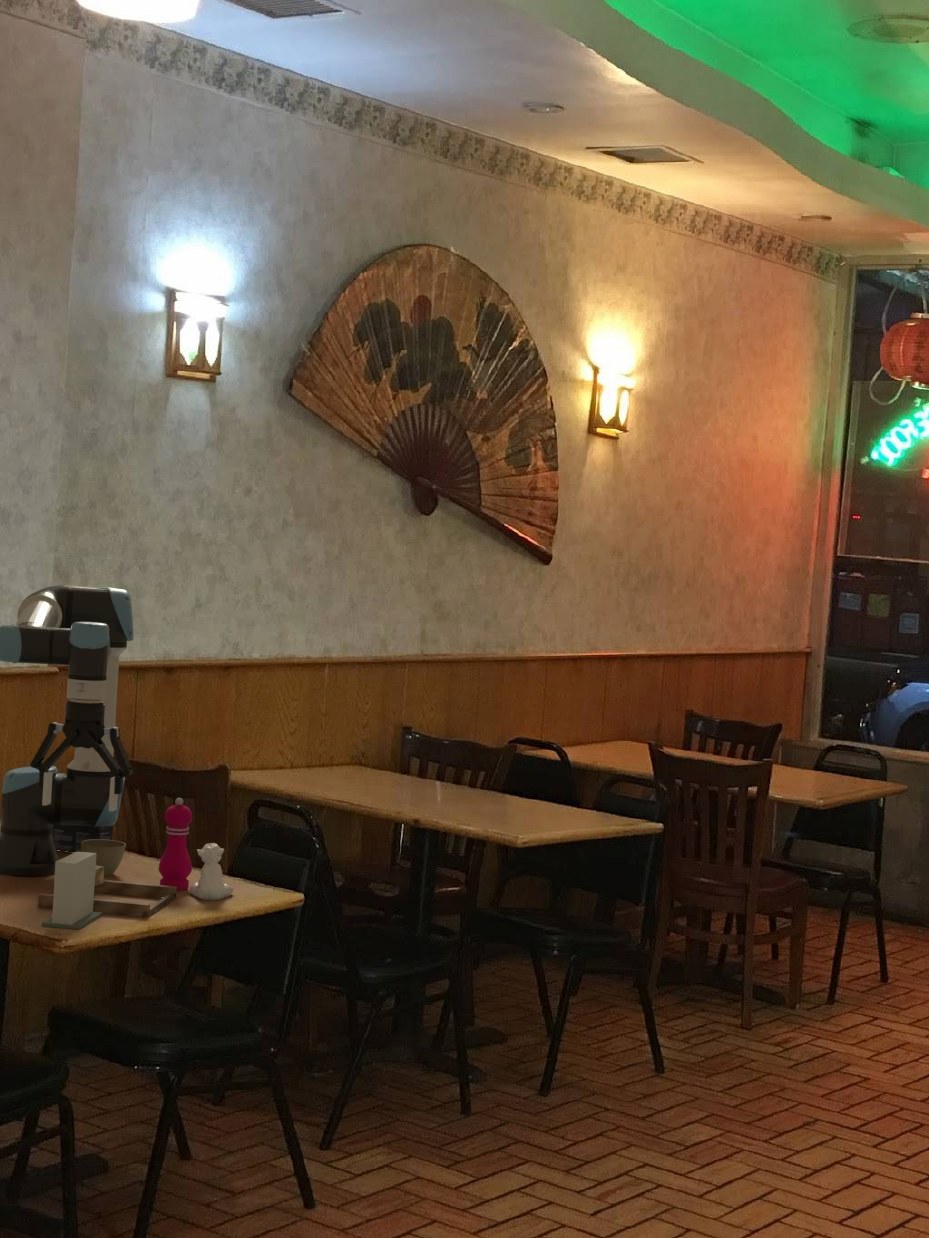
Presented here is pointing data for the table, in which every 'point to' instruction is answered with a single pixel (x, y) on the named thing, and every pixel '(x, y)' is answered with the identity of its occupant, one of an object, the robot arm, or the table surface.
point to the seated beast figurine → (211, 875)
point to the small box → (78, 836)
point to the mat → (76, 925)
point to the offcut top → (99, 875)
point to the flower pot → (105, 853)
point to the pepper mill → (176, 847)
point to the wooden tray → (124, 906)
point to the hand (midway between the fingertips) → (79, 807)
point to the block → (74, 887)
